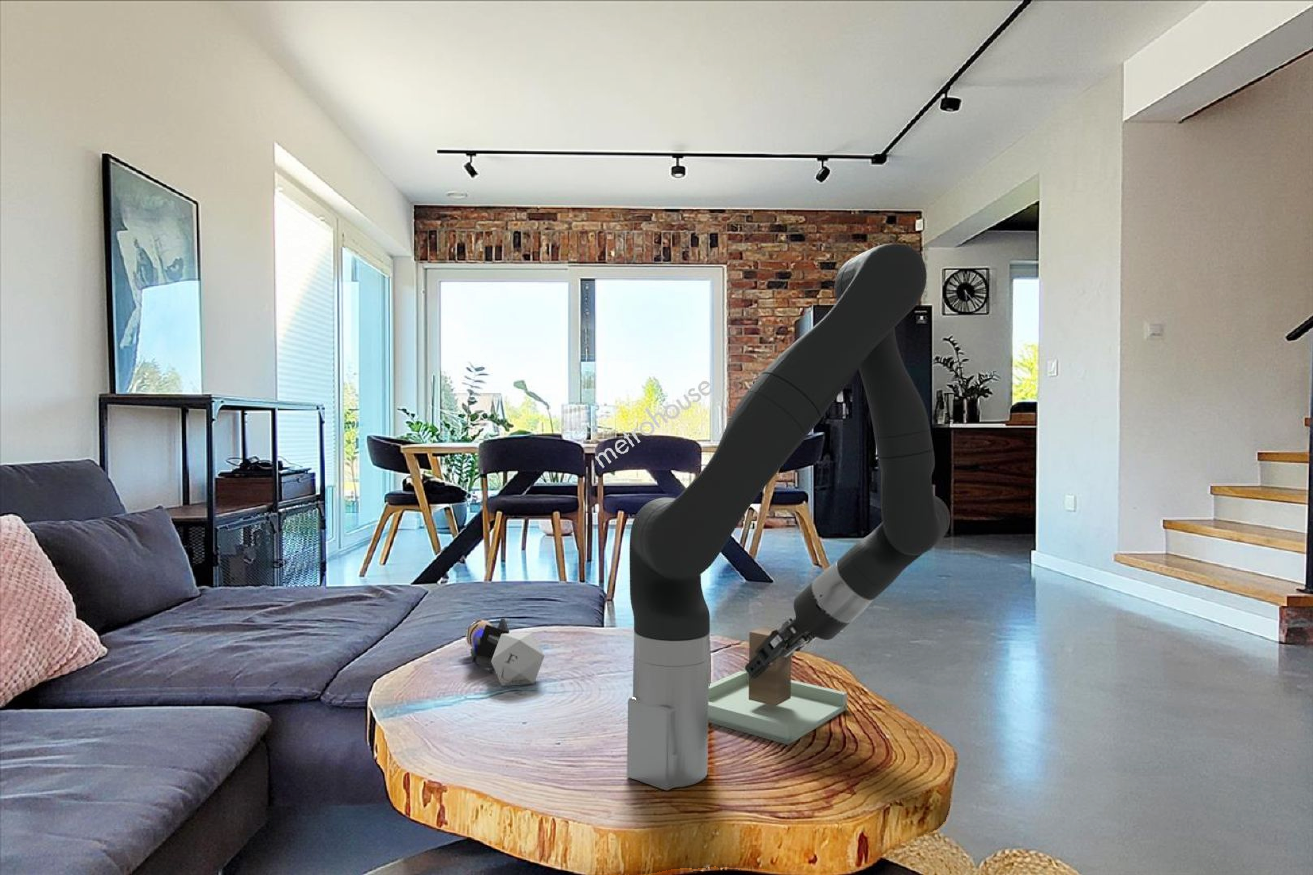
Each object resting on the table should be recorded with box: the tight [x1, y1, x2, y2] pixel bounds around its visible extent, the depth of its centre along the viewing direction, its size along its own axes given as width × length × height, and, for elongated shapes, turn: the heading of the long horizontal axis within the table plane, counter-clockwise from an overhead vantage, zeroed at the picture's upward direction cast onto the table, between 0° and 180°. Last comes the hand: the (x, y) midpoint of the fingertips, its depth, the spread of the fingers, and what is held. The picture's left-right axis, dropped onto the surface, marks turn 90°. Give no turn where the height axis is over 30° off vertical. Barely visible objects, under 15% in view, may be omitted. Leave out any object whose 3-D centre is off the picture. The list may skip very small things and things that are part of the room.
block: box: [748, 626, 792, 706], centre depth 122 cm, size 4×4×10 cm
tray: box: [708, 668, 848, 746], centre depth 122 cm, size 18×18×2 cm
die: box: [491, 631, 545, 687], centre depth 134 cm, size 8×9×10 cm
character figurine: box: [465, 617, 510, 670], centre depth 145 cm, size 8×7×15 cm
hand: (758, 668), depth 123 cm, fingers closed on block, 4 cm apart
